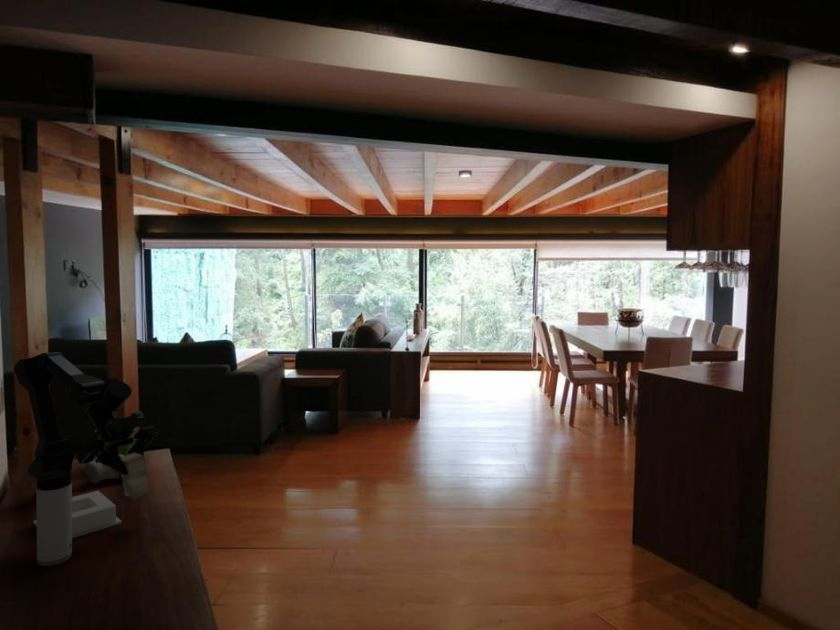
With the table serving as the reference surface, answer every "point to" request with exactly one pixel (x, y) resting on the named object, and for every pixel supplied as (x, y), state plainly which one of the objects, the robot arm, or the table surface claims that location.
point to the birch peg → (135, 476)
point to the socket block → (91, 513)
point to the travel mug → (54, 515)
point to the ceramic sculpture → (101, 471)
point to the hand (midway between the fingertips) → (135, 471)
